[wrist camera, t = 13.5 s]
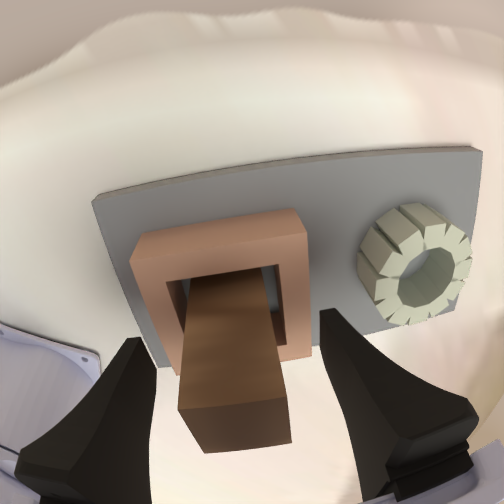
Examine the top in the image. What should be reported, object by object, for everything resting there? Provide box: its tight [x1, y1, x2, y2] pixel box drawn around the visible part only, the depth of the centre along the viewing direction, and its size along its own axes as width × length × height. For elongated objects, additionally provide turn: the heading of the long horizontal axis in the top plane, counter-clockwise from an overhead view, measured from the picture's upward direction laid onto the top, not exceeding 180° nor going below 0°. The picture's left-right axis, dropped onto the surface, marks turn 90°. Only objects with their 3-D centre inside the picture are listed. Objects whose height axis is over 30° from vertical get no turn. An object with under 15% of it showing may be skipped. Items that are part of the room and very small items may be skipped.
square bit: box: [178, 267, 292, 453], centre depth 13 cm, size 3×3×8 cm
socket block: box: [91, 147, 483, 376], centre depth 16 cm, size 20×11×4 cm, turn 98°
